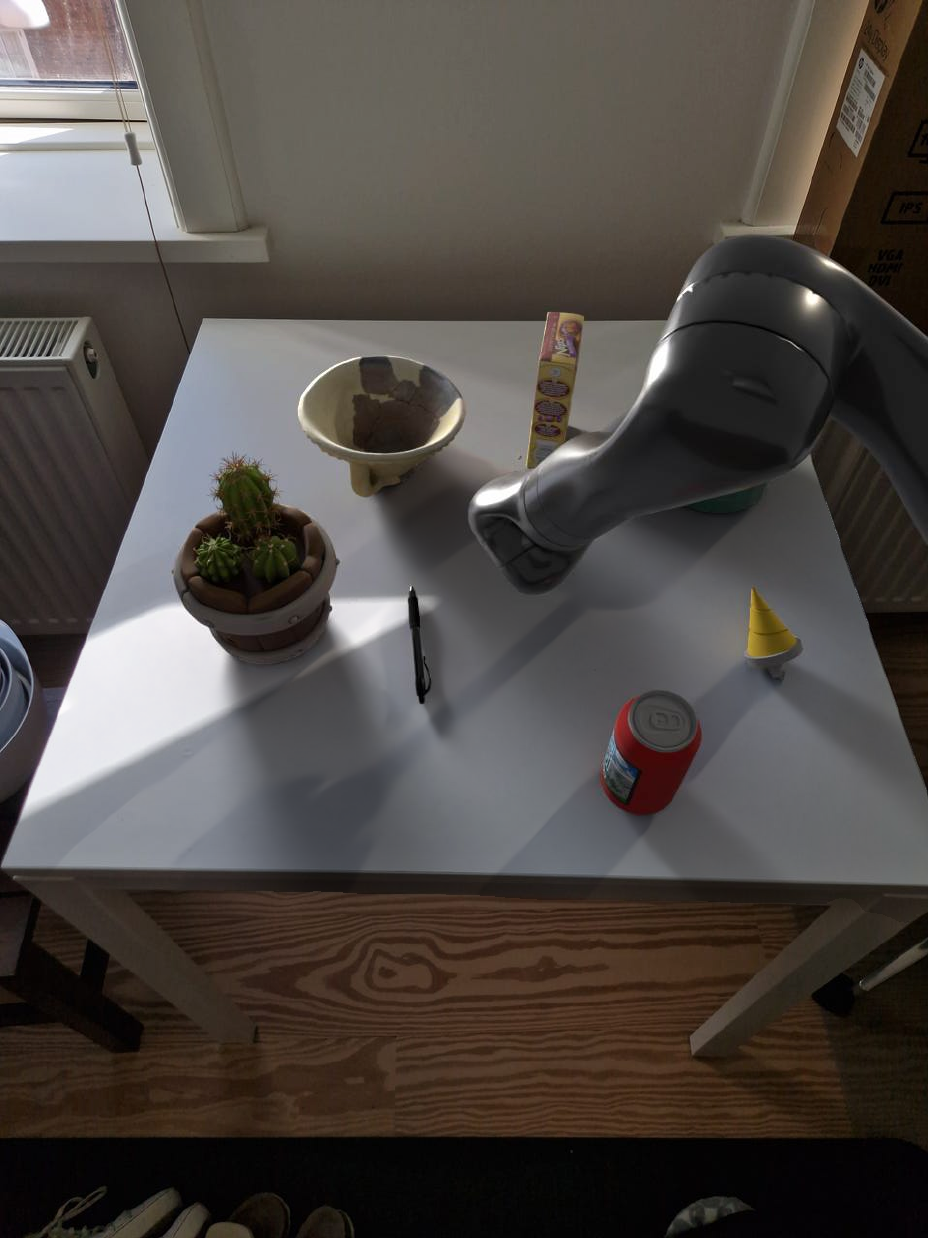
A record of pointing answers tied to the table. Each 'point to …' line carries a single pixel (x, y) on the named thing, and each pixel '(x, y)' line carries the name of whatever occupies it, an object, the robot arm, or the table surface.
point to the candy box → (554, 385)
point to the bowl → (381, 417)
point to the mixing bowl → (731, 500)
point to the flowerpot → (257, 570)
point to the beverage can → (650, 751)
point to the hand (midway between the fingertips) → (760, 365)
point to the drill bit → (769, 639)
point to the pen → (417, 647)
